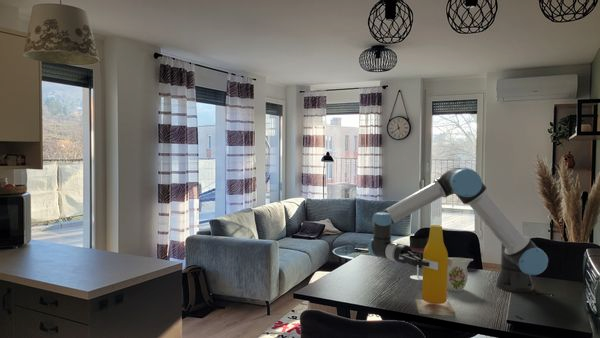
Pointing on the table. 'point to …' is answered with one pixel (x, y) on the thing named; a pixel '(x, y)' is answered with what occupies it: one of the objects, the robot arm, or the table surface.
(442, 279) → the beer bottle
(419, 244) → the wineglass
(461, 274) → the pitcher
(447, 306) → the birch board
